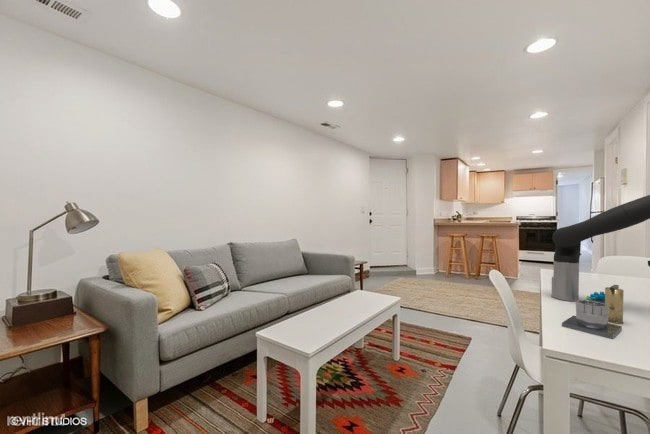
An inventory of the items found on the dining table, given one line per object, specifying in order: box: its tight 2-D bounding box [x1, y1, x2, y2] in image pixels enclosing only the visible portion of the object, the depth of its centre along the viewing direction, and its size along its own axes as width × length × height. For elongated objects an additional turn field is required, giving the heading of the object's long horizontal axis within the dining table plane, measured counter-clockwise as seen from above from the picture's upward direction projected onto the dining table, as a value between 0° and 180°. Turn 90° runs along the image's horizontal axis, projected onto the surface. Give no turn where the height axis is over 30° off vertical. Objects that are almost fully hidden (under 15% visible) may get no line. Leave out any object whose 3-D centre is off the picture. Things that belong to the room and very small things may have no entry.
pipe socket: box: [561, 299, 623, 340], centre depth 102 cm, size 13×13×8 cm
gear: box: [585, 291, 605, 304], centre depth 123 cm, size 11×6×10 cm
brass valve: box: [604, 284, 625, 325], centre depth 108 cm, size 5×7×13 cm
